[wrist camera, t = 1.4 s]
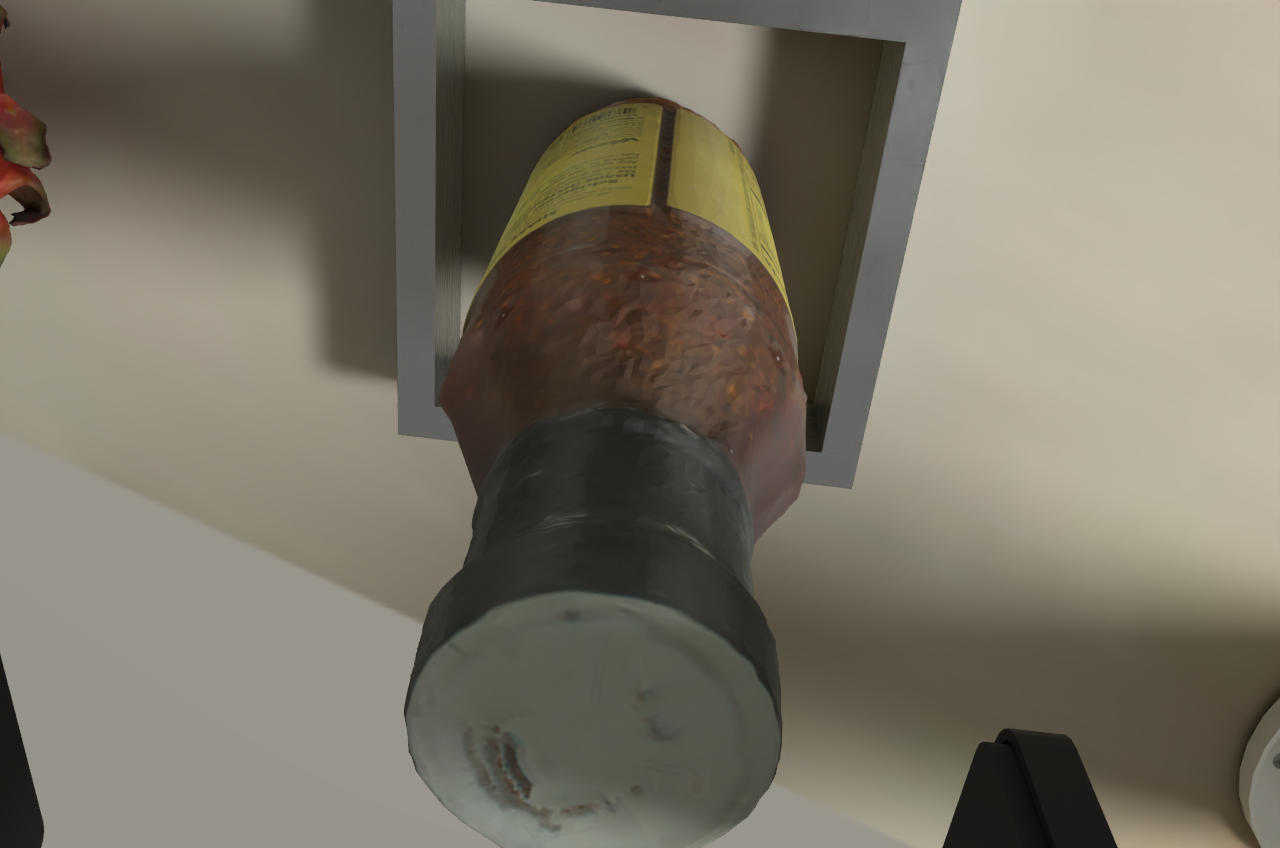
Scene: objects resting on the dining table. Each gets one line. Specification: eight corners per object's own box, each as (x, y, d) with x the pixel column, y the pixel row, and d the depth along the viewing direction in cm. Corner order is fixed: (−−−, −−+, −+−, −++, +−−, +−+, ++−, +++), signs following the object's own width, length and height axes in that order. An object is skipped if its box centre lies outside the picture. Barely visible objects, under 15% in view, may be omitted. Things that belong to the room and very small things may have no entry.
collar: (937, -14, 25) (962, -1, 23) (840, 436, 31) (851, 488, 29) (425, -71, 26) (391, -65, 23) (425, 387, 31) (398, 434, 29)
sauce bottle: (516, 284, 30) (215, 877, 12) (558, 60, 27) (244, 416, 9) (739, 339, 30) (760, 996, 12) (805, 123, 27) (953, 585, 10)
